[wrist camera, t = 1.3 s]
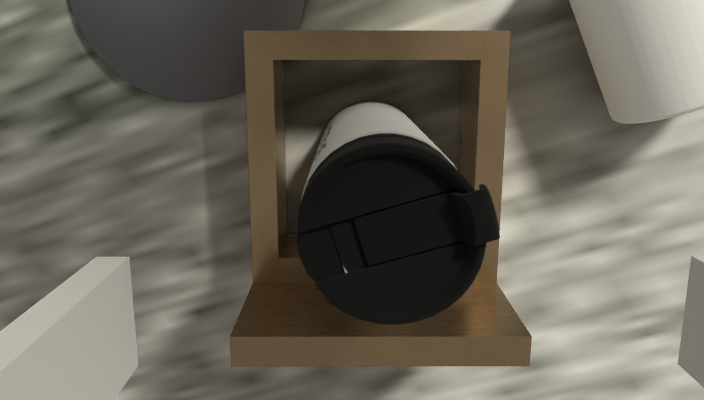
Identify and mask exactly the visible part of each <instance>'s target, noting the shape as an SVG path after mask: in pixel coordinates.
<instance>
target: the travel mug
mask: <svg viewBox="0 0 704 400" xmlns="http://www.w3.org/2000/svg"><path fill="white" fill-rule="evenodd" d="M499 238H500V235H499V224H498V220H497V215H496V211H495V208H494V204H493V201H492V197H491V195H490V192H489V190H488V189H487V187H486V186H485V185H484V184H481V185H479V190H476V191H475V189H474V188H473V187H472V186H471V185H470V183H469V182H468V181H467V180H466V178H465V177H464V176H463V175H462V174H461V173H460V172H459V171H458V170H457V168H456V167H455V165H454V164H453V163H452V161H451V160H450V159H449V158H448V157H447V156H446V155H445V154H444V153H443V152H442V151H441V150H440V149H439V148H438V147H437V146H436V145H435V144H434V143H433V142H432V141H431V140H430V139H429V138H428V137H427V136H426V135H425V134H424V133H423V132H422V131H421V130H420V129H419V128H418V127H417V126H416V125H415V124H414V123H413V122H412V121H411V120H410V119H409V118H408V117H407V116H406V115H405V114H404V113H403V112H402V111H401V110H399V109H398V108H396V107H395V106H392V105H390V104H388V103H385V102H380V101H361V102H356V103H353V104H351V105H348V106H346V107H345V108H343V109H342V110H340V111H339V112H338V113H337V114H336V115H335V116H334V117H333V118H332V119H331V120H330V122H329V123H328V125H327V126H326V128H325V130H324V133H323V135H322V138H321V141H320V144H319V147H318V150H317V152H316V155H315V158H314V161H313V164H312V167H311V169H310V172H309V175H308V178H307V181H306V184H305V187H304V190H303V192H302V197H301V203H300V206H299V211H298V236H297V246H298V251H299V255H300V259H301V261H302V263H303V266H304V268H305V270H306V272H307V275H309V276H310V277H311V278H312V279H313V280H314V281H315V285H316V286H317V287H318V289H319V290H320V291H321V293H322V294H323V295H324V296H325V298H326V299H327V300H328V301H329V303H330V304H332V305H333V306H335V307H336V308H338V309H340V310H341V311H343V312H344V313H346V314H348V315H351V316H353V317H355V318H358V319H360V320H363V321H368V322H372V323H377V324H389V325H400V324H407V323H415V322H418V321H421V320H424V319H427V318H430V317H433V316H435V315H436V314H438V313H440V312H442V311H444V310H446V309H447V308H449V307H450V306H451V305H452V304H454V303H455V302H456V301H457V300H458V299H460V298H461V297H462V296H463V294H464V293H465V292H466V291H467V290H468V288H469V287H470V286H471V285H472V283H473V282H474V280H475V278H476V276H477V274H478V272H479V270H480V268H481V266H482V262H483V258H484V255H485V249H486V243H487V242H491V241H494V240H497V239H499Z"/></svg>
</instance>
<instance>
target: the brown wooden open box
mask: <svg viewBox="0 0 704 400" xmlns="http://www.w3.org/2000/svg"><path fill="white" fill-rule="evenodd" d="M510 36H511V31H263V30H244V55H245V82H246V108H247V135H248V162H249V189H250V215H251V242H252V269H253V284H252V287H251V289H250V291H249V294H248V296H247V298H246V301H245V303H244V305H243V308H242V310H241V312H240V315H239V317H238V319H237V322H236V324H235V326H234V329H233V331H232V333H231V336H230V349H231V366H530V352H531V338H532V336H531V335H530V333H529V332H528V330H527V329H526V327H525V326H524V324H523V323H522V321H521V320H520V318H519V317H518V315H517V313H516V312H515V310H514V309H513V307H512V306H511V304H510V303H509V301H508V300H507V298H506V297H505V295H504V294H503V292H502V291H501V289H500V287H499V286H498V284H497V265H498V247H499V239H497V240H494V241H491V242H487V243H486V249H485V255H484V258H483V262H482V266H481V268H480V270H479V272H478V274H477V276H476V278H475V280H474V282H473V283H472V285H471V286H470V287H469V288H468V290H467V291H466V292H465V293H464V294H463V296H462V297H461V298H460V299H458V300H457V301H456V302H455V303H454V304H452V305H451V306H450V307H449V308H447V309H446V310H444V311H442V312H440V313H438V314H436V315H435V316H433V317H430V318H427V319H424V320H421V321H418V322H415V323H407V324H400V325H389V324H377V323H372V322H368V321H363V320H360V319H358V318H355V317H353V316H351V315H348V314H346V313H344V312H343V311H341V310H340V309H338V308H336V307H335V306H333V305H332V304H330V303H329V301H328V300H327V299H326V298H325V296H324V295H323V294H322V293H321V291H320V290H319V289H318V287H317V286H316V285H315V281H314V280H313V279H312V278H311V277H310V276H309V275H307V272H306V270H305V268H304V266H303V263H302V261H301V259H300V255H299V251H298V246H297V236H298V234H287V206H286V164H285V122H284V80H283V60H464V66H463V91H462V115H461V140H460V165H459V172H460V173H461V174H462V175H463V176H464V177H465V178H466V180H467V181H468V182H469V183H470V185H471V186H472V187H473V188H474V189H475V191H476V190H479V185H481V184H484V185H485V186H486V187H487V189H488V190H489V192H490V195H491V197H492V201H493V204H494V208H495V211H496V215H497V220H498V224H499V230H500V212H501V195H502V177H503V159H504V142H505V124H506V107H507V89H508V71H509V54H510Z"/></svg>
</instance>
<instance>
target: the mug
mask: <svg viewBox="0 0 704 400" xmlns="http://www.w3.org/2000/svg"><path fill="white" fill-rule="evenodd" d="M569 2H570V5H571V7H572V10H573V13H574V16H575V19H576V21H577V24H578V27H579V30H580V33H581V35H582V38H583V41H584V44H585V47H586V50H587V52H588V55H589V58H590V61H591V64H592V66H593V69H594V72H595V75H596V78H597V80H598V83H599V86H600V89H601V92H602V95H603V97H604V100H605V103H606V106H607V109H608V111H609V114H610V117H611V118H612V119H613V120H614V121H616V122H619V123H624V124H636V123H646V122H652V121H658V120H663V119H667V118H671V117H675V116H679V115H683V114H686V113H690V112H693V111H696V110H699V109H702V108H704V0H569Z"/></svg>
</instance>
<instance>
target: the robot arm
mask: <svg viewBox="0 0 704 400" xmlns="http://www.w3.org/2000/svg"><path fill="white" fill-rule="evenodd" d="M678 364H679V365H680V366H681V367H682V368H683V369H684V370H685V371H686V372H687V373H688V374H689V375H691V376H692V377H693V378H694V379H695V380H696V381H697V382H698V383H699V384H700V385H702V386H703V387H704V256H691V264H690V272H689V280H688V288H687V296H686V304H685V311H684V319H683V327H682V335H681V343H680V351H679V359H678ZM137 367H138V355H137V342H136V330H135V318H134V306H133V294H132V282H131V270H130V258H129V257H95V258H94V259H93V260H92V261H90V262H89V263H88V264H86V265H85V266H84V267H82V268H81V269H80V270H79V271H77V272H76V273H75V274H73V275H72V276H71V277H70V278H68V279H67V280H66V281H64V282H63V283H62V284H61V285H59V286H58V287H57V288H55V289H54V290H53V291H51V292H50V293H49V294H48V295H46V296H45V297H44V298H42V299H41V300H40V301H39V302H37V303H36V304H35V305H33V306H32V307H31V308H29V309H28V310H27V311H26V312H24V313H23V314H22V315H20V316H19V317H18V318H17V319H15V320H14V321H13V322H11V323H10V324H9V325H8V326H6V327H5V328H4V329H2V330H1V331H0V400H115V398H116V397H117V396H118V394H119V393H120V391H121V390H122V388H123V387H124V385H125V384H126V382H127V381H128V380H129V378H130V377H131V375H132V374H133V372H134V371H135V369H136V368H137Z"/></svg>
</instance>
